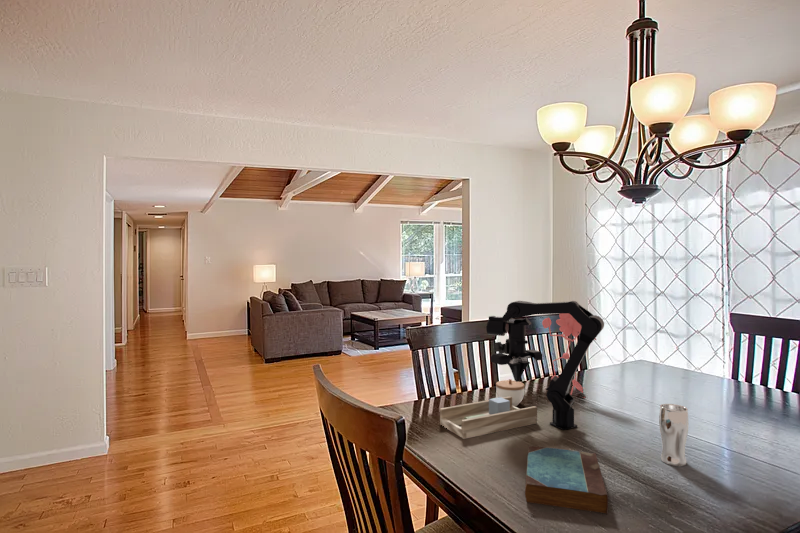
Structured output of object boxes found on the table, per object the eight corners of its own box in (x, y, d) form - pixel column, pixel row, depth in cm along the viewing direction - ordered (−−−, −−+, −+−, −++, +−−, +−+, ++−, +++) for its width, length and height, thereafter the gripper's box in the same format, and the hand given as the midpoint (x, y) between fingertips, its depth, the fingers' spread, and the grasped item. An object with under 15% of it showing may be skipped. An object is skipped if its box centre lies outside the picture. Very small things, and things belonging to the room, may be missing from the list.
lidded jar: (522, 399, 186) (522, 376, 186) (526, 408, 175) (526, 383, 175) (494, 399, 187) (494, 375, 187) (497, 407, 176) (497, 382, 176)
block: (509, 415, 160) (509, 401, 160) (498, 417, 158) (498, 403, 158) (500, 411, 164) (500, 397, 164) (488, 413, 162) (488, 399, 162)
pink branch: (588, 400, 184) (589, 311, 184) (534, 386, 205) (535, 306, 205) (609, 394, 194) (610, 309, 194) (554, 381, 214) (555, 304, 214)
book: (608, 517, 103) (608, 494, 103) (524, 505, 108) (524, 483, 108) (596, 471, 125) (596, 452, 124) (527, 463, 130) (527, 445, 129)
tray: (537, 423, 159) (537, 407, 159) (463, 438, 146) (463, 421, 146) (509, 411, 172) (509, 396, 172) (440, 424, 159) (439, 408, 158)
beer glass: (661, 454, 134) (662, 401, 134) (690, 460, 130) (690, 406, 129) (656, 462, 129) (656, 408, 128) (686, 469, 124) (686, 413, 124)
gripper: (522, 331, 175) (522, 373, 176) (481, 335, 167) (481, 379, 168) (543, 336, 165) (543, 380, 166) (500, 340, 157) (500, 386, 158)
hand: (516, 381), depth 164 cm, fingers closed
